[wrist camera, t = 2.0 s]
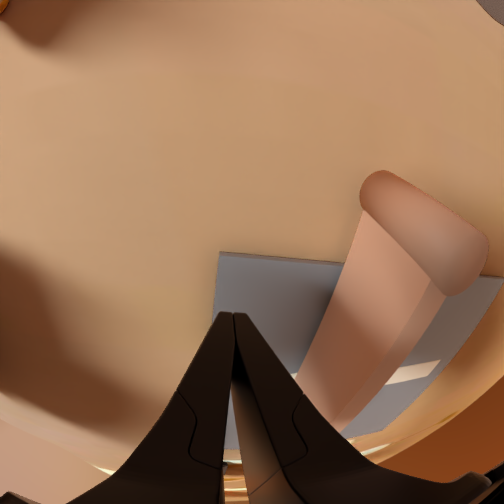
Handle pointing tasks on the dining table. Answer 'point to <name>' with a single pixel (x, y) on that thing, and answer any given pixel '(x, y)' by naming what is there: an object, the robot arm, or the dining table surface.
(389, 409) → the card
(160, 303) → the dining table surface
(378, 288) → the swing panel
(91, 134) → the dining table surface
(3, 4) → the bird rattle
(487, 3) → the wine glass
